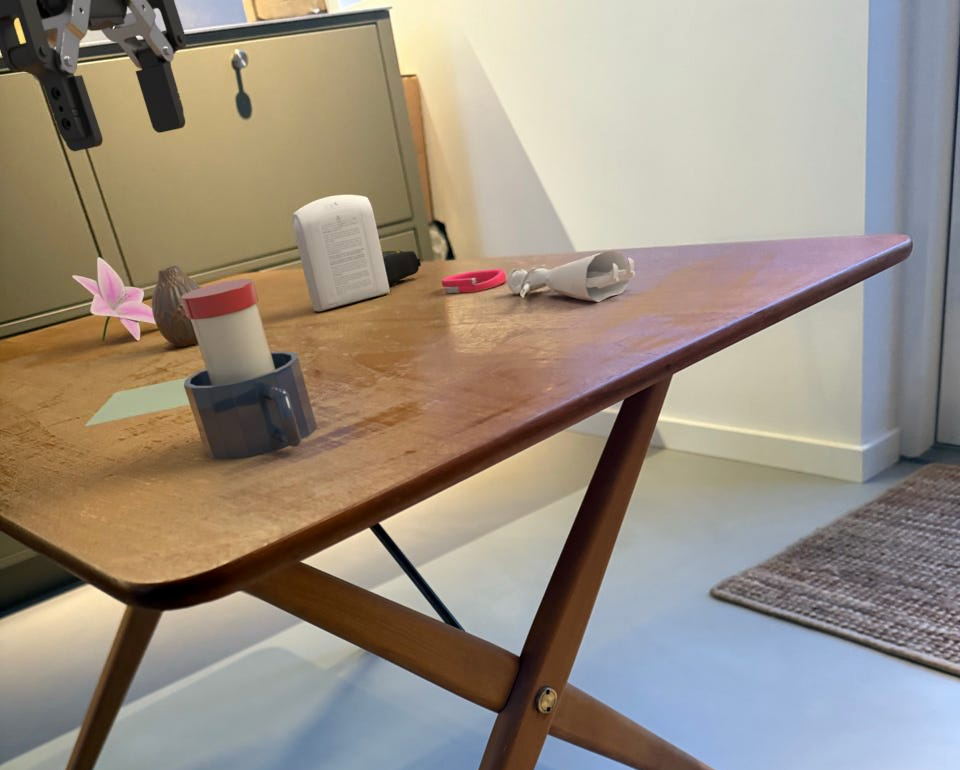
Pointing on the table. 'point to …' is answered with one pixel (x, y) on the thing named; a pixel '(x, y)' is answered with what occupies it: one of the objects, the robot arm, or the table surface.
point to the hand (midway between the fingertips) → (130, 139)
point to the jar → (229, 330)
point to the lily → (116, 299)
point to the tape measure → (400, 265)
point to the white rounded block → (340, 251)
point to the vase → (173, 306)
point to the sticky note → (142, 401)
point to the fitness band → (473, 280)
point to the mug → (252, 410)
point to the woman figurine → (578, 277)
